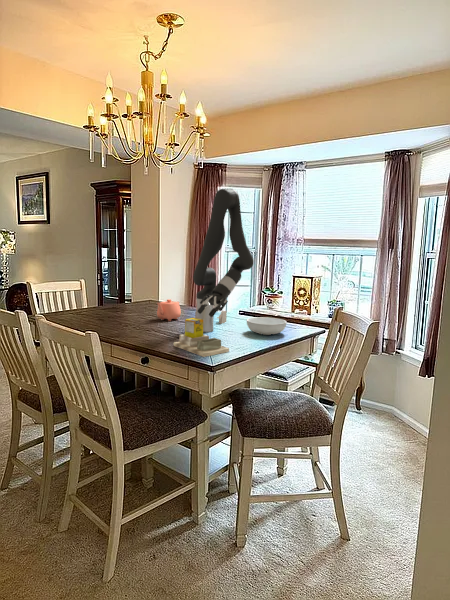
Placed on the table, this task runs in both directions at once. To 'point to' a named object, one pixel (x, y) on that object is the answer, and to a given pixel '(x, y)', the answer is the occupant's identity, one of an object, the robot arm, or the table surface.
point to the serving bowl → (266, 325)
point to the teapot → (168, 310)
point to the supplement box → (194, 327)
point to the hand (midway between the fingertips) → (204, 314)
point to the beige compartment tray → (201, 345)
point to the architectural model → (222, 317)
